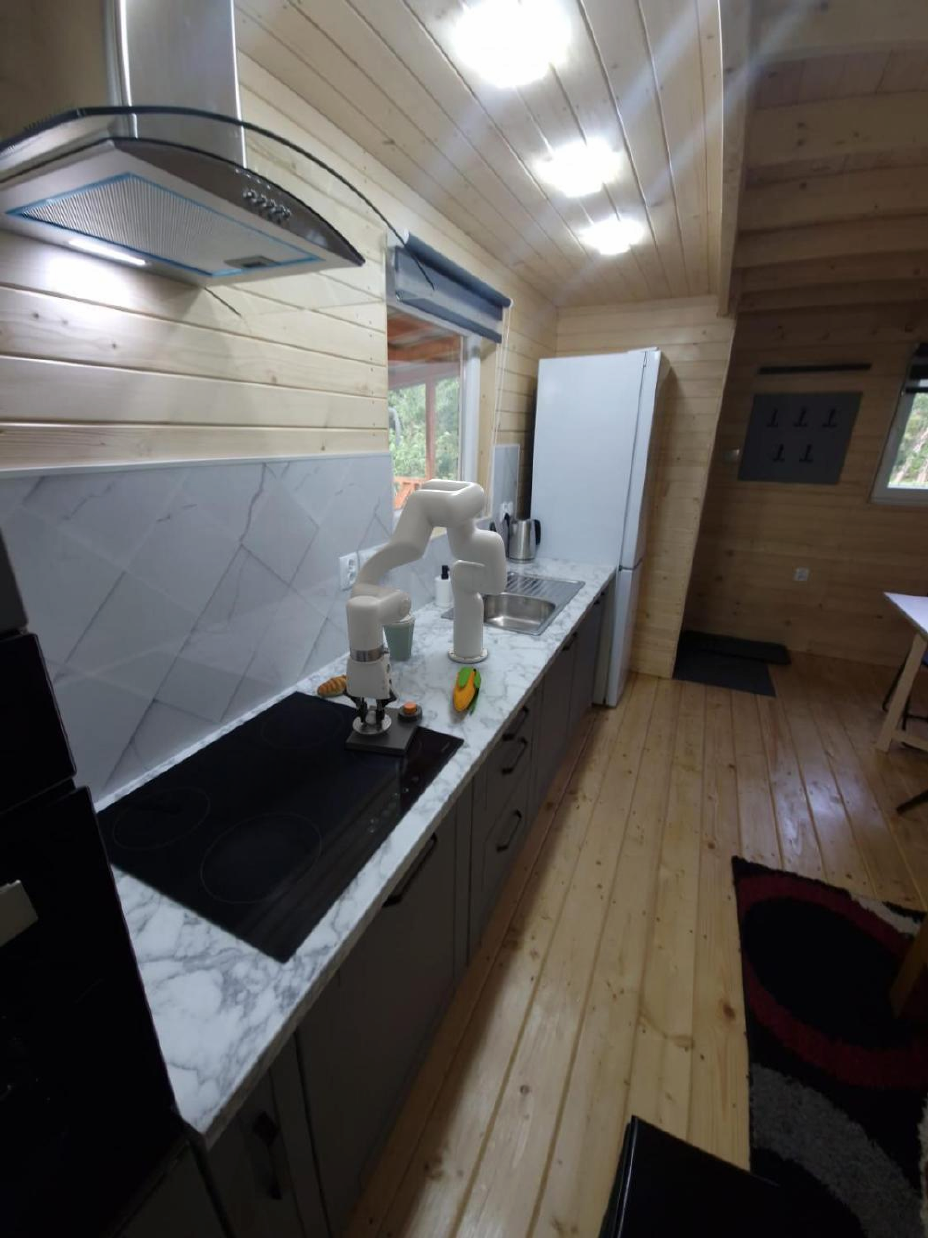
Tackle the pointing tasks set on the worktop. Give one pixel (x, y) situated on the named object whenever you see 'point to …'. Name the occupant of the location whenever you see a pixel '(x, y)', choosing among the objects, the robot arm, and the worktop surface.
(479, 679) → the corn
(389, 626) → the disposable coffee cup
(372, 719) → the garlic
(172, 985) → the worktop surface
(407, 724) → the scale
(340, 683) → the pastry
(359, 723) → the scale pan
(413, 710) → the tare button
